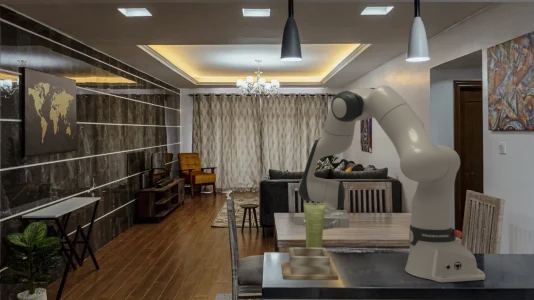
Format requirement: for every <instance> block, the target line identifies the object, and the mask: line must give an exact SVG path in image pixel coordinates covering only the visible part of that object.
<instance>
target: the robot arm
mask: <svg viewBox="0 0 534 300" xmlns="http://www.w3.org/2000/svg"><path fill="white" fill-rule="evenodd" d="M370 119H375V121H376V122H377V124H378V125H379V126H380V128H381V129H382V131H383V132H384V133H385V135H386V136H387V138H388V139H389V140H390V141H391V143H392V144H393V146H394V148H395V150H396V153H397V155H398V158H399V159H400V160H399V167H400V171H401V172H402V175H403V176H404V177H405V178H407V179H408V180H410V181H413V182H417V186H416V191H415V192H414V195H413V196H412V199H411V210H410V211H411V216H410V217H411V218H410V221H411V222H410V223H411V224H409V232H408V237H409V238H408V240H409V251H408V257H407V262H406V265H405V268H404V271H405V272H406V273H407V274H410V275H411V276H414V277H418V278H422V279H426V280H427V279H428V280H431V281H434V282H438V283H451V282H453V283H454V282H469V281H482V280H483V281H484V280H486V273H485V272H484V271H482V270H481V269H480V268H478V264H477V259H476V257H475V255H474V253H472V252H471V251H470V250H469V249H468V248H466V247H465V246H464V245H463V244H461V243H460V242H459V241H458V240H457V239H456V238H458V239H461V238H462V237H463V235H464V234H463V232H462V230H458V229H454V228H452V227H451V204H452V195H453V191H454V187H455V181H456V178H457V173H458V171H459V169H460V167H461V159H460V155H459V154H458V153H457V151H456V150H454V149H453V148H451V147H449V146H447V145H444V144H435V143H433V142H432V141H431V140H430V138H429V136H428V134H427V132H426V129H425V125H424V122H423V121H422V119H421V118H420V117H419V116H418V115H417V113H416V112H415V111H414V109H413V108H412V107H411V105H409V104H408V102H407V101H406V99H404V98H403V97H402V96H401V95H400V94H399V93H398V92H397V91H396V90H395V89H393V88H392V87H390V86H389V85H384V84H383V85H380V86H377V87H369V88H355V89H350V90H343V91H341V92H338V93H336V94H335V95H334V96H333V98H332V100H331V103H330V105H329V109H328V111H327V115H326V119H325V123H324V130H323V134H322V136H321V137H320V138H318V139H316V140H315V141H314V143H313V144H312V147H311V150H310V152H309V155H308V158H307V162H306V165H305V169H304V172H303V175H302V178H301V179H300V181H299V185H298V187H297V190H298V191H297V192H298V193H297V194H298V196H299V197H300V198H301V199H302V200H303V201H309V202H314V203H326V207H325V215H324V224H323V231H324V230H329V229H334V228H336V229H338V228H343V229H345V228H346V229H349V228H350V215H349V213H348V211H347V210H346V209H343V206H344V203H345V199H346V197H345V196H346V188H345V186H344V185H343V183H342V182H341V181H337V180H334V179H327V178H322V177H317V176H316V175H315V172H316V170H317V166H318V163H319V161H320V159H323V158H325V157H329V156H335V155H340V154H342V153H344V152H346V151H347V150H348V149H350V147H351V146H352V144H353V140H354V134H355V128H356V122H357V121H358V122H359V121H365V120H370ZM293 224H294V225H295V226H304V227H306V225H305V212H298V213H296V214H294V215H293Z"/></svg>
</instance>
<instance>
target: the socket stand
mask: <svg viewBox="0 0 534 300" xmlns="http://www.w3.org/2000/svg"><path fill="white" fill-rule="evenodd" d="M281 271H282V279H283V280H334V281H335V280H339V274H338V273H337V271H336V269H335V266H334V265H333V263H332V262H331V257H330V255H329V253H328V251H327V249H326V248H325V247H322V248H306V247H292V246H291V247H290V246H289V247H288V261H281Z"/></svg>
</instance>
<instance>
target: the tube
mask: <svg viewBox="0 0 534 300" xmlns="http://www.w3.org/2000/svg"><path fill="white" fill-rule="evenodd" d="M325 207H326V203H320V202H303V211H304V212H303V213H305V225H306V226H305V248H323V236H324V230H323V224H324V215H325Z"/></svg>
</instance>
